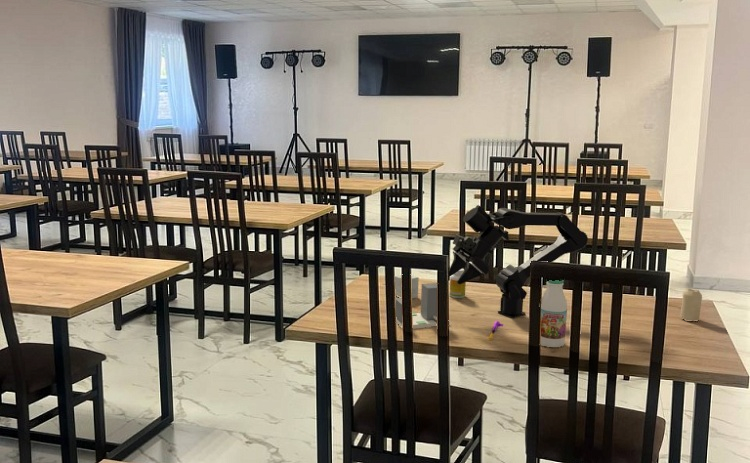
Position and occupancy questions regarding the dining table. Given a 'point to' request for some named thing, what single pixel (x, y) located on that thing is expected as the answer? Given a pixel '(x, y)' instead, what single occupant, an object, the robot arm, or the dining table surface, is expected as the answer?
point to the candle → (691, 305)
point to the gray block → (429, 301)
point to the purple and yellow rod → (494, 329)
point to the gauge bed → (417, 317)
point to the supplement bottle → (457, 285)
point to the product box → (414, 286)
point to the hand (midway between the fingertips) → (453, 279)
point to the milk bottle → (553, 315)
